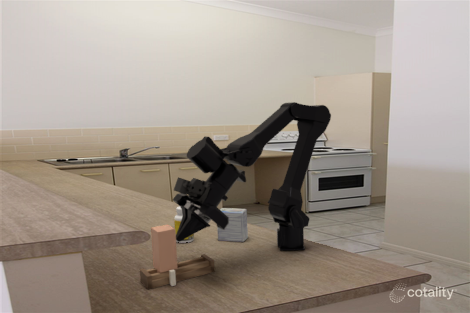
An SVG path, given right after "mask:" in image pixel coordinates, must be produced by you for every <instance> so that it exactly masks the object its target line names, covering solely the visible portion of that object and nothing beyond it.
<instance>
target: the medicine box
mask: <svg viewBox="0 0 470 313" xmlns="http://www.w3.org/2000/svg"><path fill="white" fill-rule="evenodd" d="M219 209H220V210H221V211H222V212H223V213H224V214H225V215H226V216H228V217H229V224H228V225H227V227H226V228H225V229H224V230H222V229H220V228H218V227H217V226H216V228H217V230H216V231H217V241H225V242H226V241H227V242H238V243H240V242H241V243H244V242H245V241H246V240H247V239H248V238H249V232H248V231H249V230H248V229H249V228H248V213H247V212H248V210H247V208H232V207H231V208H230V207H222V208H219Z"/></svg>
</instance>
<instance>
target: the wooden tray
mask: <svg viewBox="0 0 470 313" xmlns="http://www.w3.org/2000/svg"><path fill="white" fill-rule="evenodd" d="M177 266H178V269H174V270H175V276H176V283H178V282H182V281H184V280H189V279H192V278H196V277H201V276H204V275H209V274H212V273H215V272H216V268H215V259H213V258H212V257H210V256H208V255H207V254H206V253H203V254H200V256H199V257H195V258H194V257H193V258H191V259H186V260H183V261H177ZM139 278H140V283H141V284H143V286H144V287H145V288H146V289H147V290H151V289H155V288H159V287H162V286H163V287H164V286H166V285H170V277H169V271H166V272H162V273H160V272H158V273H157V269H155V268H154V267H153V268H149V269H145V268H143V267H142V268H140V269H139Z"/></svg>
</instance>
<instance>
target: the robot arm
mask: <svg viewBox="0 0 470 313" xmlns="http://www.w3.org/2000/svg"><path fill="white" fill-rule="evenodd" d="M331 118H332V114H331V112H330V109H329V107H328V106H326V105H324V104H319V105H317V104H316V105H309V104H302V103H298V102H292V101H291V102H285V103H281V105H280V106H279V108H278V109H277V110H275V111H274V112H273V113H272V114H271V115H270V116H268V117H267V118H266V119H265V120H264V121H263V122H261V124H259V125H258V126H257V127H256V128H255V129H254V130H252V131H251V132H250V133H248V134H245V135H243V136H240V137H238V138H237V139H235V140H233V141H231V142H230V143H228V145H226V147H223V148H220V147H219V146H217V144H216V143H215V142H214V139H212V138H211V137H210V136H205V135H204V137H203V138H202V139H200V140H198V141H196V143H194V144H193V145H192V146H190V147H189V149H188V150H187V153H186V158H187V159H188V160H189V161H190V162H191V163H193V165H195V166H196V167H197V168H198V169H199V170H200V171H201V172H202V173H203V174H209V173H210V175H209V177H208V178H206V180H201V179H199V178H196V177H195V178H194V177H192V179H191V180H187V179H185V178H181V177H177V179H176V182H175V185H174V187H173V191H174V192H178V193H176V195H175V196H174V197H173V199H172V201H173V202H174V203H176V205H178V207H181V209H182V214H183V217H182V220H181V223H180V226H179V229H178V231H177V234H176V240H177V241H178V242H180V241H182V240H184V239H185V238H187V237H189V236H191V235H192V234H196V233H198V232H199V231H202V230H204V229H206V228H210V227H211V224H209V223H210V222H211V221H212V222H213V223H215V225H216V228H217V227H218V228H220V229H222V230H224V229H225V228H226V227H227V225H228V224H229V217H228V216H226V215H225V214H224V213H223V212H222V211H221V210H220V209H221V208H219V205H220V204H221V203H222V201H223V202H226V201H227V200H228V199H229V197H228V196H227V194H228V192H230V190H231V188H232V187H233V186H234V185H235V184H236V182H241V183H246V182H247V177H246V171H245V170H243V169H238V168H237V167H236V166H239V167H251V166H253V165H254V164H255V163H256V162H257V160H259V157H261V156H262V154H263V151H264V148H265V147H266V145H267V144H268V143H269V142H270V141H272V140H273V139H274V138H275V137H276V136H277V135H278V134H279V133H281V131H283V130H284V129H285V128H286V127H287V126H288V125H289V124H291V123H292V122H293V121H296V122H297V123H296V126H297V131H298V136H297V139H296V142H295V147H294V148H293V151H292V155H291V157H290V158H291V159H290V161H289V164H288V167H287V170H286V173H285V176H284V180H283V182H282V185H281V186H279V188H272V190H271V194H270V197H269V199H268V201H267V203H268V211H269V214H270V216H271V217H272V219H273V221H274V223H277V224H278V228H277V229H276V244H277V247H279V251H305V250H306V246H305V242H304V241H305V239H304V229H305V227H308V226H309V223H310V217H309V216H308V215H307V214H306V213H305V212H304V211H303V210H302V208H303V202H304V201H303V196H302V192H301V191H302V187H303V184H304V181H305V178H306V175H307V171H308V169H309V166H310V162H311V159H312V156H313V153H314V149H315V147H316V144H317V140H318V139H319V138H320V137H321V136H322V135H323V133H325V132H326V130H327V128H328V126H329V124H330V122H331ZM226 161H227V162H226ZM178 242H177V243H178Z"/></svg>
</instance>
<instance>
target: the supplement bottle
mask: <svg viewBox="0 0 470 313" xmlns="http://www.w3.org/2000/svg"><path fill="white" fill-rule="evenodd" d="M175 210H176V211H175V212H176V213H175V216H174V218H173V220H174V228H175V232H176V234H177V231H178V229H179V226H180V223H181V220H182V217H183V214H182V209H181V207H180V206H177V207H176V209H175ZM194 234H195V233H194ZM194 234H192V235H191V236H189V237H187V238H185V239H184V240H182V241H180V242H179V243H178V241H177V240H176V243H178V244H186V242H188V243H191V242H193V241H194V239H195V235H194Z"/></svg>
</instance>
